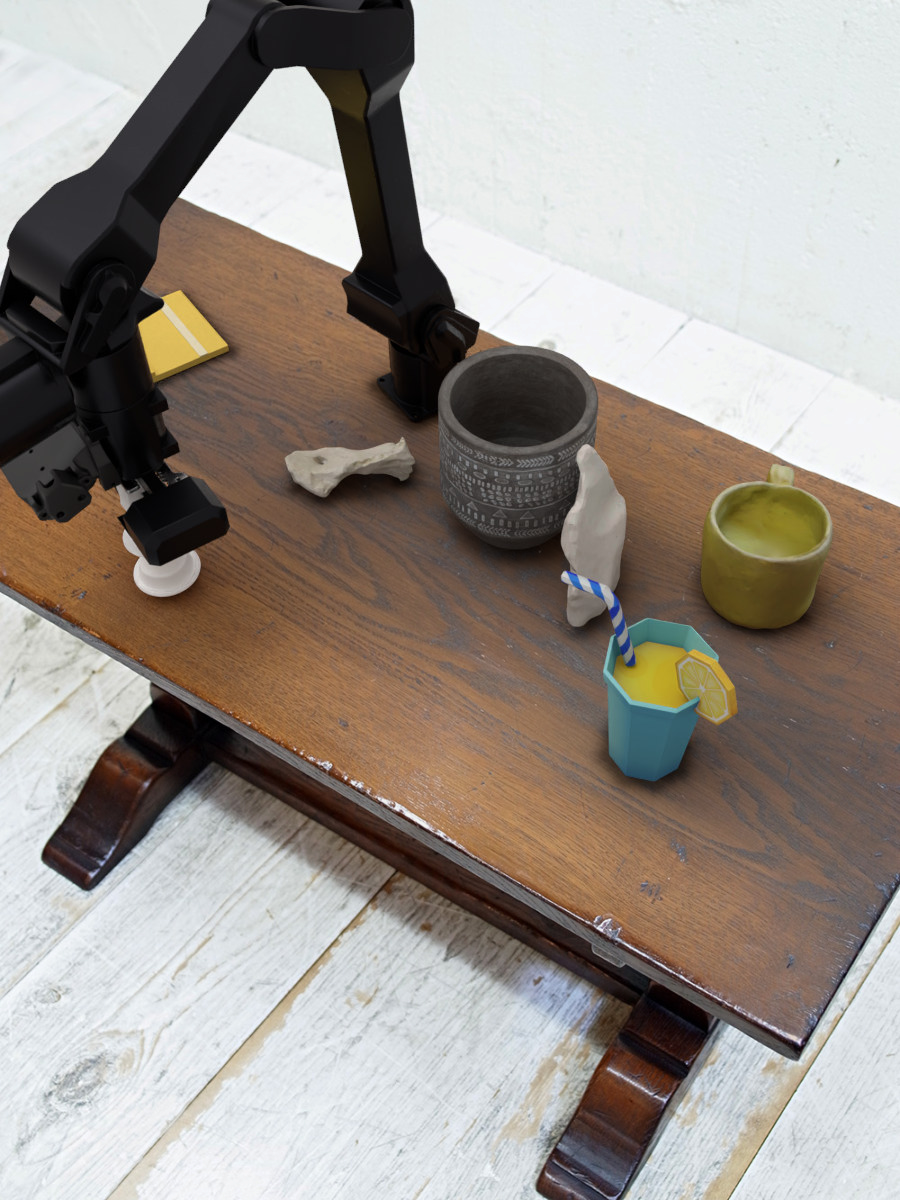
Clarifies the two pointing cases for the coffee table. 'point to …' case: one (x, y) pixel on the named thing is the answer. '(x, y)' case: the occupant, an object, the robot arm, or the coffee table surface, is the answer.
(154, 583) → the candle
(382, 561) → the coffee table surface
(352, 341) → the coffee table surface
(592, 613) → the stone
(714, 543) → the mug
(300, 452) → the off-white irregular piece
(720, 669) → the cup
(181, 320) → the towel
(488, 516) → the planter
